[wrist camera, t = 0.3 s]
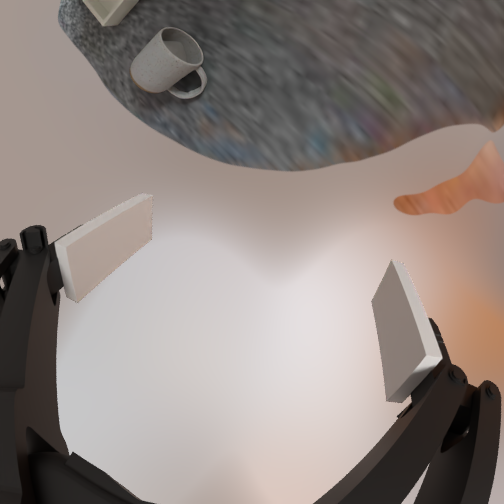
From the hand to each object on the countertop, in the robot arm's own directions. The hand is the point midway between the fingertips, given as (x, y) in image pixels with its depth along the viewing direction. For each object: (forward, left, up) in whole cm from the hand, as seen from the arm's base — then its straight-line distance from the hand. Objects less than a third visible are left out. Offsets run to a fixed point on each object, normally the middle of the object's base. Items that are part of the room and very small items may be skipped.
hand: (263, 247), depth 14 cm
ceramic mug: (+12, -18, -27) cm, 34 cm away
